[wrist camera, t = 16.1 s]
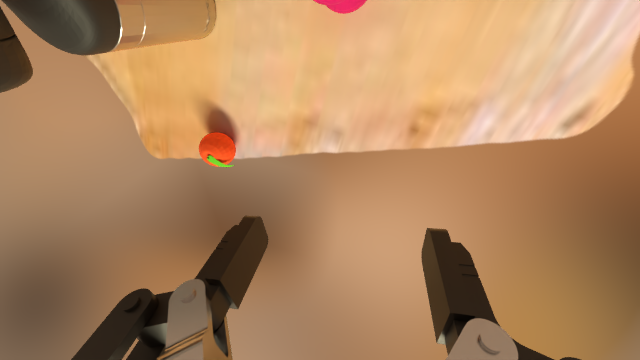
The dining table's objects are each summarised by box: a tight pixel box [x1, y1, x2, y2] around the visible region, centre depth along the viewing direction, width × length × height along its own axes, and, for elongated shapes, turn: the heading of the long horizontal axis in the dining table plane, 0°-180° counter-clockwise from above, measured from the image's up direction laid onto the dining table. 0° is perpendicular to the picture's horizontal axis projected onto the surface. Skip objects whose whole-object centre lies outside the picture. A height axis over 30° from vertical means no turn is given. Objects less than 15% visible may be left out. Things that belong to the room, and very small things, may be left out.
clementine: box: [199, 132, 236, 167], centre depth 48 cm, size 8×7×7 cm
